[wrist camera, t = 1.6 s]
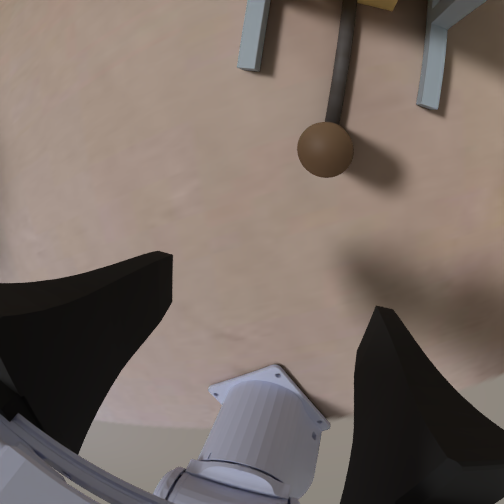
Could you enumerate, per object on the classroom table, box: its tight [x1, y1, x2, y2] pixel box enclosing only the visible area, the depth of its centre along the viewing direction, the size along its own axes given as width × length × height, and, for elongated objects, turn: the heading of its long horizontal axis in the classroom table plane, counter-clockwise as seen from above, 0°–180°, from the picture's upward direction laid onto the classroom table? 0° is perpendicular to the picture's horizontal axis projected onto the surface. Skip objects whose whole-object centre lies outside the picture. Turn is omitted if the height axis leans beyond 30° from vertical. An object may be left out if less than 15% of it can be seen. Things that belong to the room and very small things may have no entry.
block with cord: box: [297, 0, 398, 178], centre depth 12 cm, size 15×5×5 cm, turn 172°
